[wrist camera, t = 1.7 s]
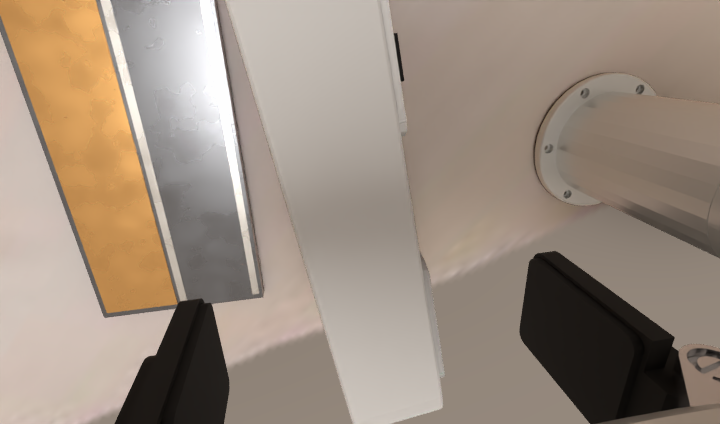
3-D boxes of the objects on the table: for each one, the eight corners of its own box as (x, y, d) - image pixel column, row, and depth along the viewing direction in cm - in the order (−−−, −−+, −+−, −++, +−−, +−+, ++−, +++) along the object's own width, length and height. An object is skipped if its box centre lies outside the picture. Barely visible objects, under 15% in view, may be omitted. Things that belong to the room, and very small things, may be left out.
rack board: (213, -17, 28) (210, -20, 27) (264, 290, 38) (263, 297, 37) (-4, -12, 26) (-18, -15, 25) (109, 309, 36) (103, 318, 35)
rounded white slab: (404, 266, 40) (485, 417, 23) (331, 285, 39) (361, 454, 23) (345, -65, 28) (421, -231, 12) (240, -45, 28) (166, -188, 11)
